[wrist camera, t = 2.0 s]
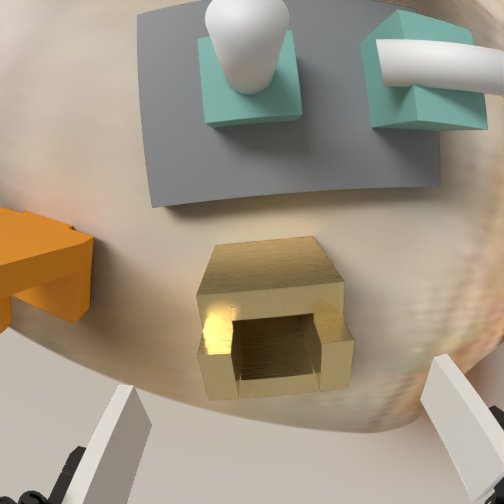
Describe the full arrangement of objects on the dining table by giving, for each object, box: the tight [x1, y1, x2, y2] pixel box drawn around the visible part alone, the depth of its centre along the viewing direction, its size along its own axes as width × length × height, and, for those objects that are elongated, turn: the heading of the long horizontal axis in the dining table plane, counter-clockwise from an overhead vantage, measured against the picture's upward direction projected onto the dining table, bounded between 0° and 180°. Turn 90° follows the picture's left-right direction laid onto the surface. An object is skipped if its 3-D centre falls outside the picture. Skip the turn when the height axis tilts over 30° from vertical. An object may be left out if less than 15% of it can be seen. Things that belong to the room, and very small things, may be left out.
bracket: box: [0, 207, 94, 333], centre depth 16 cm, size 11×7×12 cm, turn 74°
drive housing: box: [137, 0, 504, 208], centre depth 12 cm, size 20×14×12 cm
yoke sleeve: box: [196, 236, 354, 400], centre depth 18 cm, size 7×7×10 cm
